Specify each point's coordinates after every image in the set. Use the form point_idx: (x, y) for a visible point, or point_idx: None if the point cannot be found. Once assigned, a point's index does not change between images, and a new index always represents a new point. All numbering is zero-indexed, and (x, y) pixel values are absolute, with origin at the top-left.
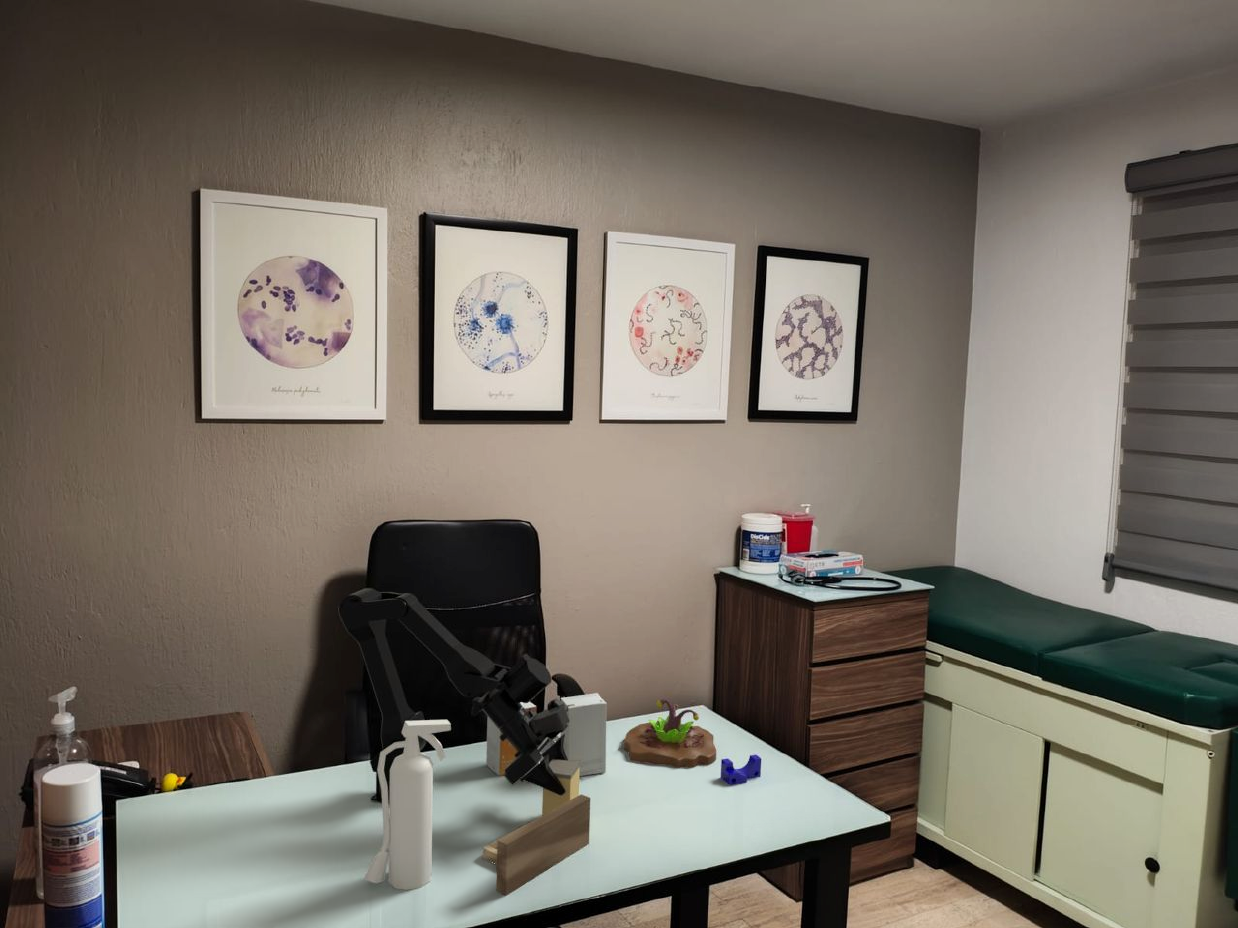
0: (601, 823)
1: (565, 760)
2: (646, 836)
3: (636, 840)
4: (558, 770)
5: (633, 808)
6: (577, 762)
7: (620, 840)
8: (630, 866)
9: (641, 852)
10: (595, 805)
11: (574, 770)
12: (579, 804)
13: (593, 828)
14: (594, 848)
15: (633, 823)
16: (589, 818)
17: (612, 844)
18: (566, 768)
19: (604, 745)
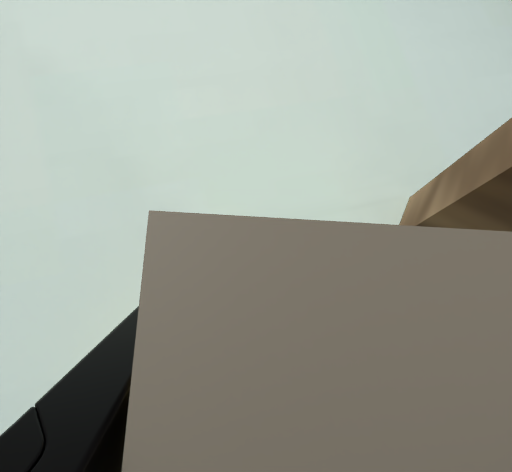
0: (234, 181)
1: (129, 413)
2: (288, 11)
3: (327, 40)
4: (452, 414)
5: (68, 77)
6: (158, 240)
7: (346, 91)
8: (497, 40)
9: (401, 17)
10: (67, 240)
11: (382, 224)
12: None
13: (286, 205)
14: (435, 170)
15: (202, 63)
16: (472, 150)
17: (384, 113)
18: (364, 329)
19: None
